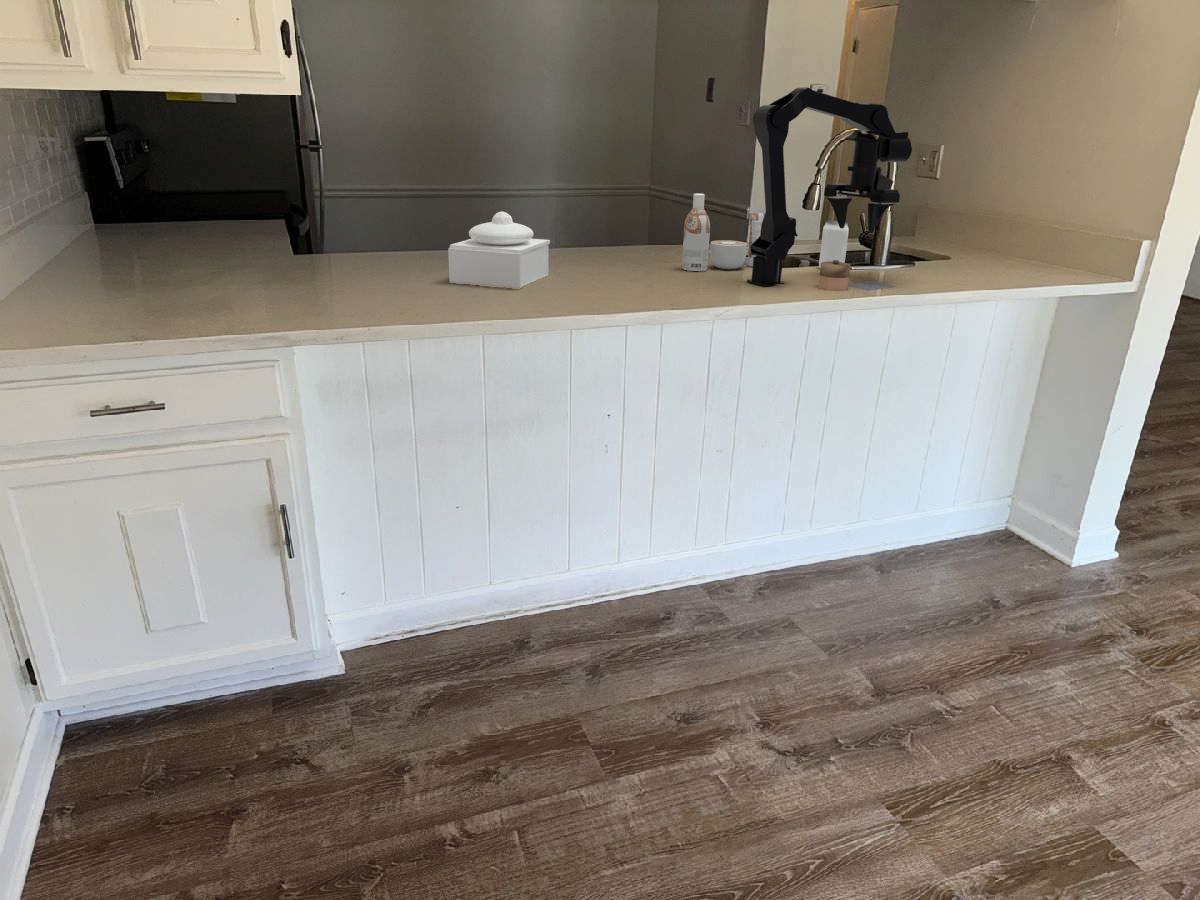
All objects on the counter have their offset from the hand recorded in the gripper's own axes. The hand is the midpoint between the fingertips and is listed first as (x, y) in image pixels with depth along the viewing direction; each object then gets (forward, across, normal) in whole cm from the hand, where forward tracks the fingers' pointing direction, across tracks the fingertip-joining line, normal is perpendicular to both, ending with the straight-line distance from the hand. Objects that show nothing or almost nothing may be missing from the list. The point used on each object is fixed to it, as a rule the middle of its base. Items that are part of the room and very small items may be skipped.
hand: (856, 230), depth 204 cm
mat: (+12, -8, +2) cm, 15 cm away
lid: (+9, -6, +12) cm, 16 cm away
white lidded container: (+12, +37, +77) cm, 86 cm away
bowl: (+12, -6, +12) cm, 18 cm away
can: (+12, +14, -8) cm, 20 cm away
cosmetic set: (+12, +27, +17) cm, 34 cm away
